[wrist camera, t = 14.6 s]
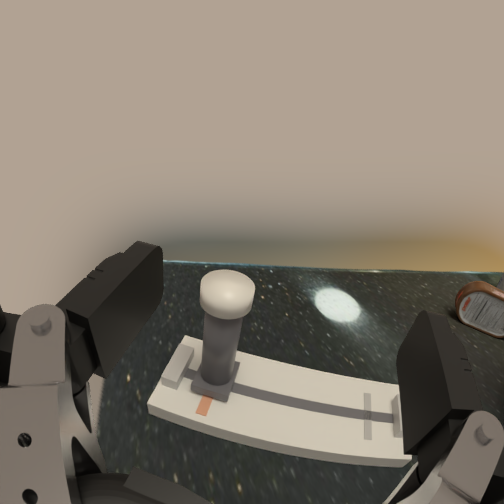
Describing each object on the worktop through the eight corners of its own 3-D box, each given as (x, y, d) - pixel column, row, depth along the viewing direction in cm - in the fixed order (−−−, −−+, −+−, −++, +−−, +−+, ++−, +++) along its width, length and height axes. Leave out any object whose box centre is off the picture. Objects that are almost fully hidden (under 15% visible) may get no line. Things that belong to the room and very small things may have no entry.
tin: (506, 336, 44) (527, 301, 40) (508, 345, 41) (531, 310, 37) (447, 310, 49) (467, 272, 45) (447, 320, 47) (469, 280, 43)
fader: (240, 369, 31) (260, 276, 25) (229, 402, 27) (247, 310, 21) (203, 358, 31) (212, 263, 25) (188, 389, 27) (191, 294, 22)
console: (396, 395, 32) (409, 378, 30) (401, 467, 24) (419, 453, 22) (185, 347, 35) (185, 326, 34) (149, 413, 27) (145, 395, 25)
